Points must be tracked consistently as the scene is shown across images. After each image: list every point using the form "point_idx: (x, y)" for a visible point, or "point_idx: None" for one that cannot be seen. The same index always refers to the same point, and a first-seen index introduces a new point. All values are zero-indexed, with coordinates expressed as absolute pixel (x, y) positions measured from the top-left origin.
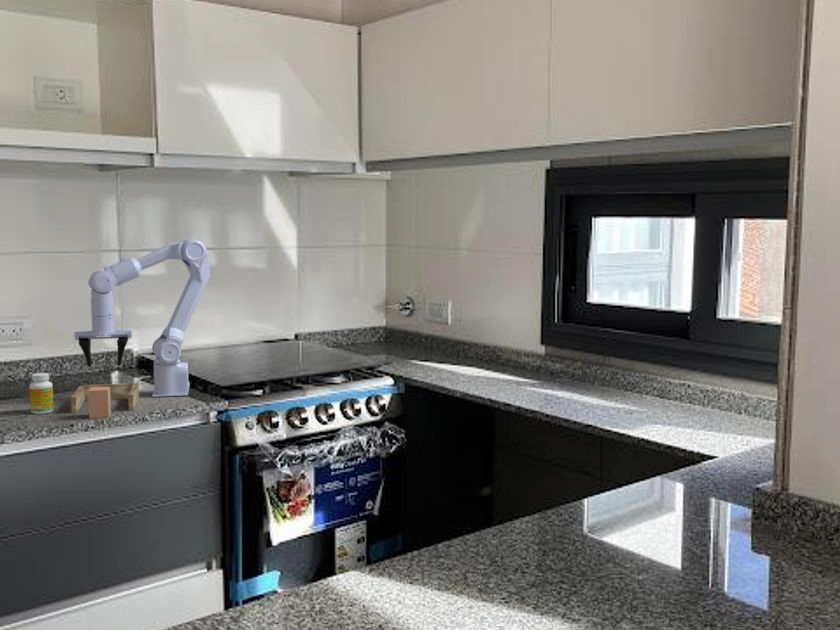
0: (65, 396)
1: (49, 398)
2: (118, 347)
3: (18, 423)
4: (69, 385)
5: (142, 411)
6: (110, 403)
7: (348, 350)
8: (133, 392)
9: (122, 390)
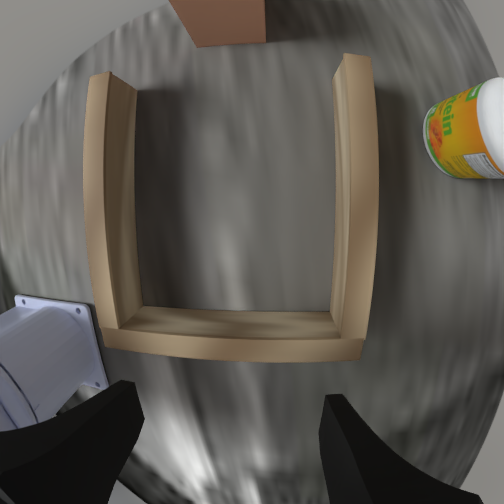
0: (393, 386)
1: (453, 101)
2: (43, 448)
3: (456, 16)
4: None
5: None
6: (186, 28)
7: None
8: (88, 126)
9: (171, 323)
